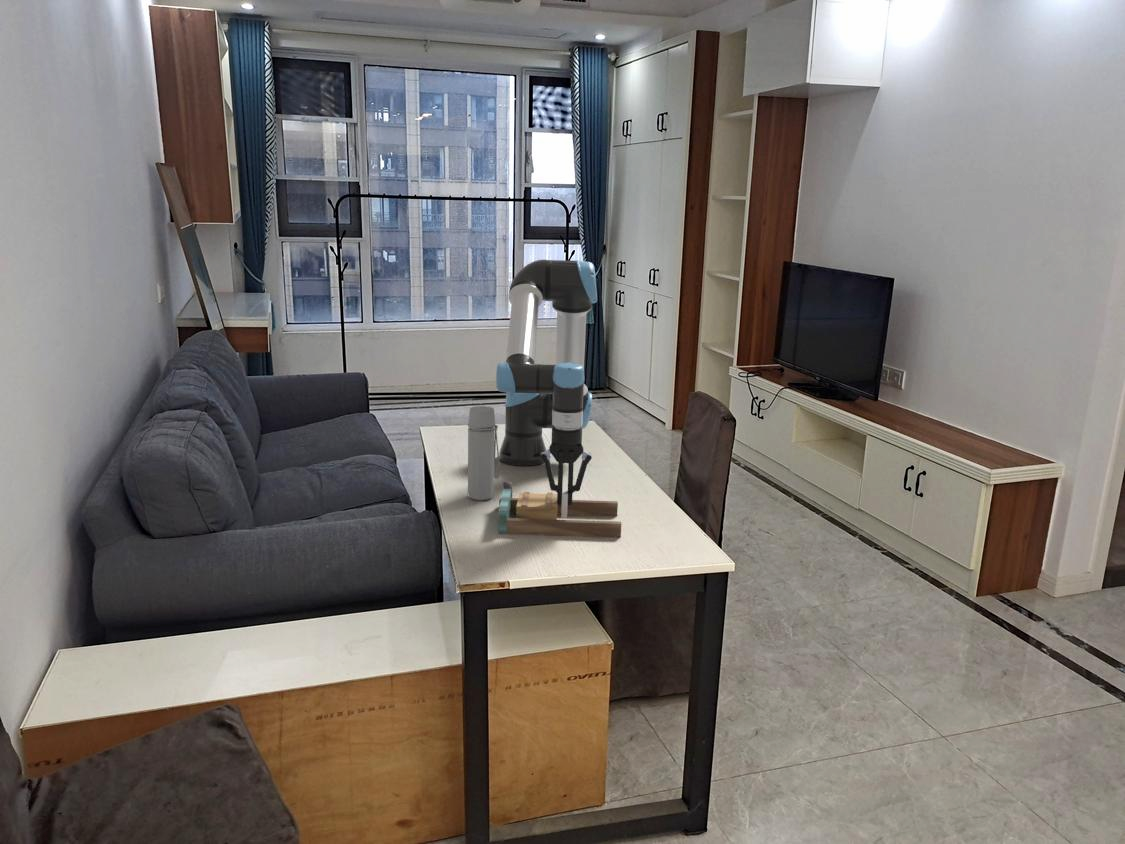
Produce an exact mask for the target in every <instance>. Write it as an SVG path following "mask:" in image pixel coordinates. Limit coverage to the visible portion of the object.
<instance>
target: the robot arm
mask: <svg viewBox="0 0 1125 844" xmlns="http://www.w3.org/2000/svg"><path fill="white" fill-rule="evenodd" d="M595 270H596V268H595V266H594V264H593V262H590V261H585V260H579V259H578V260H565V259H564V260H563V259H562V260H559V259H537V260H534V261H532V262H530V263H528V264H526V265H525V266H524V267H523V268H521V269H520V270H519V271H518V272H517V274H515V277H514V278H513V279H512V281H511V282H510V285H509V286H510V287H509V289H508V301H509V303H510V304H511V305H510V316H509V328H508V336H507V337H508V338H507V346H506V356H505V357H506V358H505V362H500V363H498V364H497V365H496V366H497V367H496V374H495V375H496V376H495V377H496V379H495V385H496V389H497V391H499V392H500V393H506V395H505V404H504V406H505V423H504V424H505V425H504V426H505V427H504V428H505V429H504V431H505V433H504V437H503V441H502V443H501V446H500V448H499V451H498V452H499V462H502V463H504V464H507V465H511V466H519V467H525V466H527V467H530V466H531V467H532V466H537V465H541V464H544V466H545V471H546V475H547V480H548V483H549V487H550V491H552V492H556V494H557V504H558V505H562V508H561V514H560V515H561V516H560V517H561V519H568V514H567V507H568V505H572V500H573V494H574V493H576V492H579V491H581V488H582V487H581V486H582V483H583V481H584V476H585V473H586V470H587V466H588V464H589V463H590V462H591V460H592V453H591V452H588V451H586V450H584V446H583V445H582V444H583V430H584V429H585V428H587V426H588V424H589V421H590V417H591V410H592V403H593V394H592V392H589V389H588V386H587V385H586V384H585V356H586V355H585V350H586V334H587V333H586V332H587V331H586V329H587V314H588V313H589V312H590V311H591V310H592V308H593V304H596V303H597V302H598V292H597V278H596V271H595ZM543 301H544V302H552V303H551V308H552V309H553V310H554V311H555V312H556V341H555V343H556V345H555V347H556V348H555V364H543V363H541V364H540V363H536V349H537V335H538V333H537V332H538V319H539V307H540V306H541V305H542V303H543ZM543 429H551V443H550V445H549V447H548V448H549V449H546V445H545V442H544V437H543ZM551 455H552V456H551ZM580 456H581V464H580V468H579V471H578V474H577V478H576V481H575V484H574V463H575V462H577V460H578V459H579V458H580ZM551 457H553V459H554V460H555V461H556V463H557V464H558V465H557V484H556V483H555V478H554V474H553V468H552V464H551V460H550V459H551ZM564 464H568V471H567V472H568V473H567V474H568V475H567V490H566V489H565V490H564V489H563V483H564V479H563V478H564Z"/></svg>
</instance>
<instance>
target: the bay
mask: <svg viewBox="0 0 1125 844" xmlns="http://www.w3.org/2000/svg"><path fill="white" fill-rule="evenodd" d="M502 486H503V487H502V495H501V498H500V499H498V501H499V502H498V506H499V507H498V529H497V530H498V534H499V535H500V534H503V535H504V534H505V535H506V534H507V535H508V534H509V535H532V534H533V535H534V536H535V535H539V536H541V535H540V534H544V535H543V536H565V535H568V536H569V537H572V536H573V537H574V536H575V537H599V538H600V537H604V538H605V537H606V538H622V537H621V536H622V521H614V520H613V521H612V520H582V519H581V520H579V519H578V520H577V519H557V520H553V519H521V518H516V517H515V518H514V517H513V518H512V517H510V516H511V513H512V514H514V513H515V514H516V506H517V501H518V497H517V498H516V497H513V481H507V480H506V481H503V483H502ZM618 503H619V502H618V501H617V500H616V501H615V500H592V499H590V500H589V499H587V500H586V499H572V505H568V507H567V515H580V516H605V517H606V516H608V517H609V516H611V517H614V516H615V517H616V516H618V507H619V504H618ZM561 508H562V505H558V504H557V515H561Z"/></svg>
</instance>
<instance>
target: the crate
mask: <svg viewBox="0 0 1125 844" xmlns="http://www.w3.org/2000/svg"><path fill="white" fill-rule="evenodd" d="M517 498H518V501H517V506H516V513H515V515H516V516H515V518H521V519H553V520H558V514H557V493H556V494H554V493H553V492H547V493H532V492H531V493H530V491H524V492H520V493H518V496H517Z"/></svg>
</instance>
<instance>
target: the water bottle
mask: <svg viewBox="0 0 1125 844" xmlns="http://www.w3.org/2000/svg"><path fill="white" fill-rule="evenodd" d="M495 416H496V415H495V408H494V407H491V406H488V405H487V406H486V405H485V406H484V405H482V406H481V405H478V406H477V405H475V406H472V407H470V408H469V414H468V423H467V427H468V428H467V496H468V497H469V499H471V500H473V501H479V502H481V501H488V500H491V499H492V498H493V497H494V495H495V492H494V491H495V479H497V480H498V479H499V478H500V476H501V475H500V474H501V463H500V462H501V461H500V459H499V452H500V451H499V443H498V432H497V431H498V428H499V427H498V426H499V425H497V424H496V420H495V419H496V417H495ZM496 451H497V453H496ZM496 454H497V455H496ZM496 456H497V463H498V464H497V465H498V473H497V476H496V475H495V473H496Z"/></svg>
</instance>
